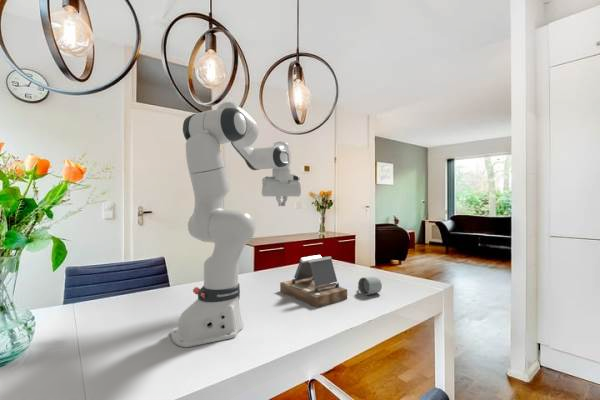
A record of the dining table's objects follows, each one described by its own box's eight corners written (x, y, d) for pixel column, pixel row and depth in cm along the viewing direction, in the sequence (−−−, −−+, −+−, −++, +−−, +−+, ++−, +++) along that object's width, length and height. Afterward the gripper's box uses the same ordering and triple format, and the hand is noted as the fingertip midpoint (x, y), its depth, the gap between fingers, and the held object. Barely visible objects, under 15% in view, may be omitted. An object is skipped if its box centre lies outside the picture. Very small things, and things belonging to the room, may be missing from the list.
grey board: (296, 280, 136) (303, 260, 132) (293, 277, 138) (301, 257, 133) (314, 276, 143) (322, 257, 138) (312, 273, 144) (319, 254, 140)
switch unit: (316, 307, 118) (316, 292, 118) (280, 291, 139) (280, 278, 139) (347, 298, 128) (347, 284, 128) (309, 284, 149) (309, 272, 149)
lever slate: (318, 285, 124) (311, 259, 127) (315, 286, 126) (308, 260, 129) (337, 281, 131) (330, 256, 134) (334, 282, 132) (327, 257, 136)
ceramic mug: (383, 294, 134) (383, 277, 134) (369, 297, 130) (369, 279, 130) (366, 288, 143) (366, 272, 143) (353, 291, 139) (353, 274, 139)
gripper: (266, 175, 134) (266, 206, 134) (302, 177, 146) (302, 205, 146) (259, 176, 139) (259, 206, 139) (294, 178, 151) (295, 205, 151)
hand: (281, 206), depth 143 cm, fingers closed
